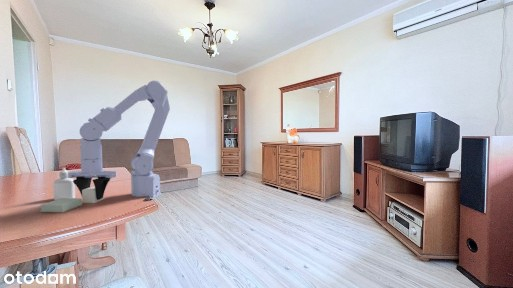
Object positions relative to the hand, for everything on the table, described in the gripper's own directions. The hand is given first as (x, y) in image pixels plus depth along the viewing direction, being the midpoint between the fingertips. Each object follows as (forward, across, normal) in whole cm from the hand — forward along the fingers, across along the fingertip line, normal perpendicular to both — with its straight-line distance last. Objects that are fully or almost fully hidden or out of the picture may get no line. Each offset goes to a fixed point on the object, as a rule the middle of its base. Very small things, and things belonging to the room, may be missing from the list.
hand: (93, 198), depth 72 cm
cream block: (+1, 0, 0) cm, 1 cm away
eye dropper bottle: (+2, -12, +3) cm, 13 cm away
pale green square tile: (+3, -4, -7) cm, 8 cm away
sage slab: (+1, -4, -7) cm, 8 cm away
